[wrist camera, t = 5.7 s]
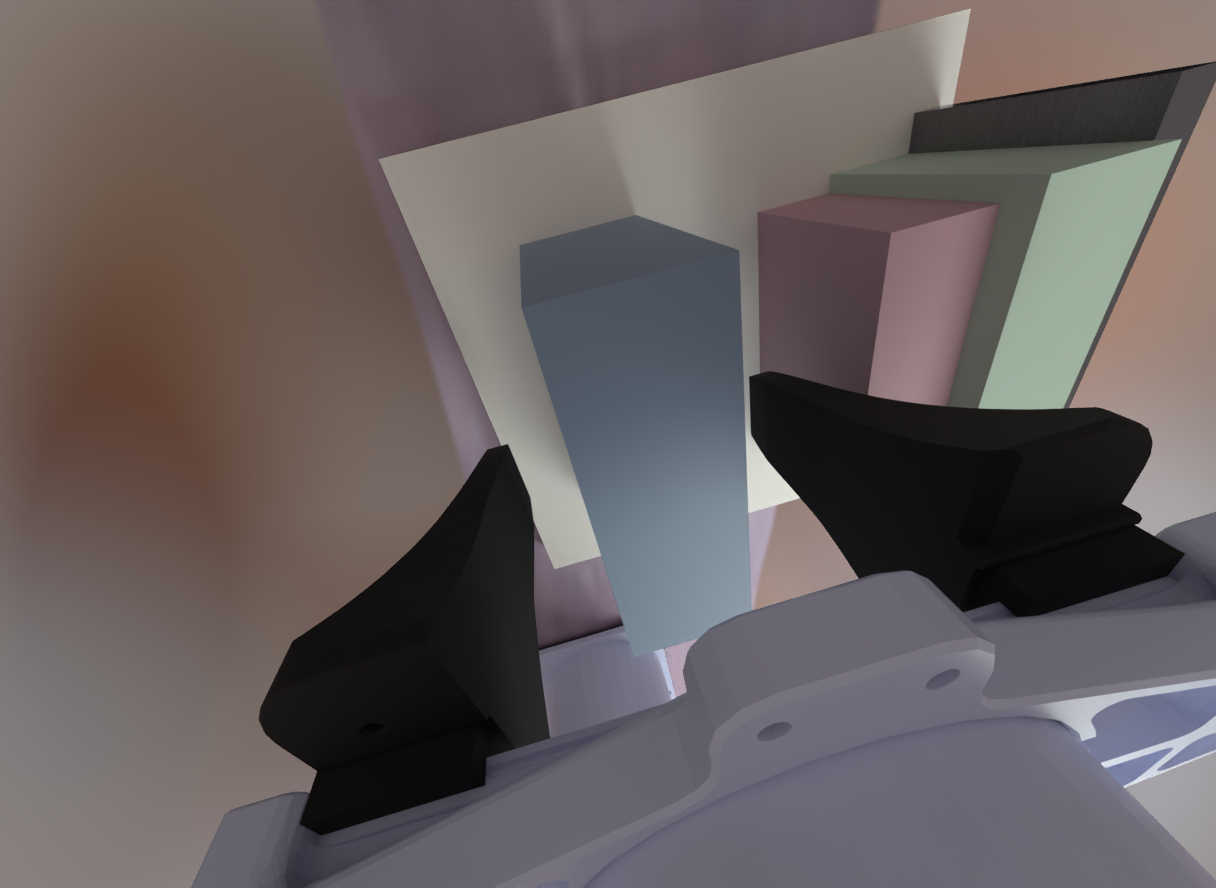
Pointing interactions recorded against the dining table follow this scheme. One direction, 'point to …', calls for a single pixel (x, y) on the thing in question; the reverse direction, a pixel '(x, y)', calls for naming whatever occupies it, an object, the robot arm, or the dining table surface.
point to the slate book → (650, 414)
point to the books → (955, 271)
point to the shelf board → (651, 211)
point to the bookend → (1077, 127)
